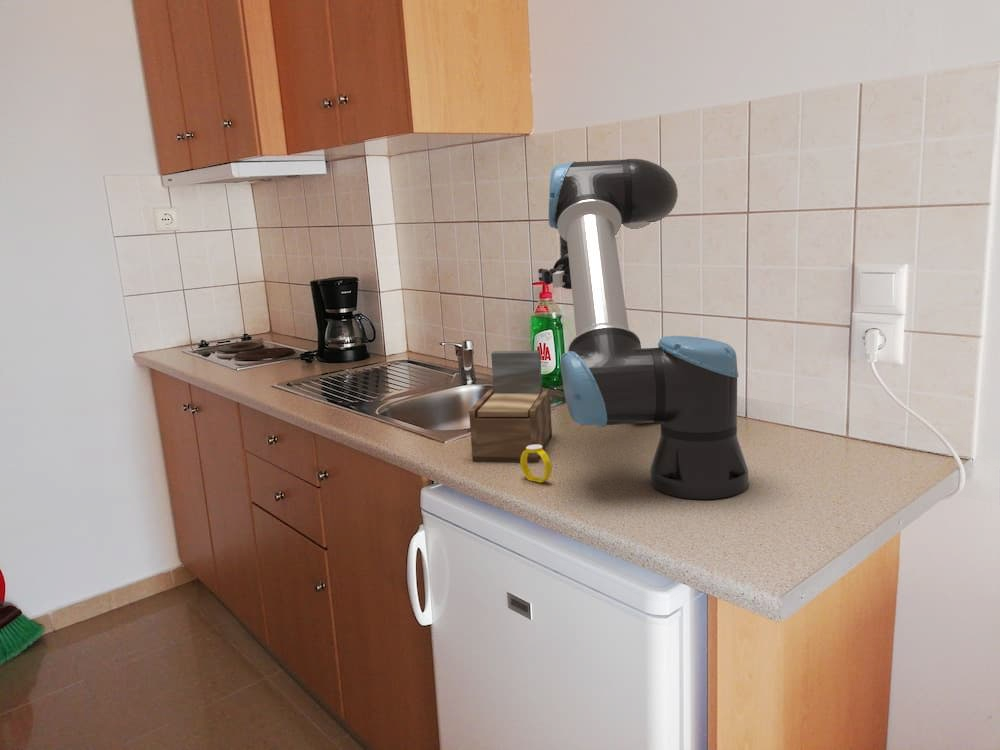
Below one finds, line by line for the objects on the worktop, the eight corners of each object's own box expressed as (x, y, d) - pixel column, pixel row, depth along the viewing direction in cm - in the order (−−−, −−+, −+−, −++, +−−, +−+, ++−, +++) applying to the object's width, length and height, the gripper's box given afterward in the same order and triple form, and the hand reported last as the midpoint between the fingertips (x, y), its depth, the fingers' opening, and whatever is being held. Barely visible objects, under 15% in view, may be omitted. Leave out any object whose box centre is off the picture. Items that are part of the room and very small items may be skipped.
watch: (555, 482, 130) (554, 447, 129) (544, 487, 128) (542, 452, 127) (529, 474, 134) (527, 441, 133) (518, 479, 132) (516, 445, 131)
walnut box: (537, 462, 140) (535, 410, 138) (472, 461, 143) (469, 410, 141) (551, 435, 155) (549, 388, 153) (492, 435, 158) (489, 389, 156)
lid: (528, 416, 139) (525, 367, 137) (477, 416, 141) (474, 367, 139) (542, 395, 154) (540, 350, 152) (496, 396, 156) (493, 351, 154)
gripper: (601, 286, 177) (590, 298, 155) (544, 288, 180) (525, 300, 158) (600, 252, 176) (588, 259, 153) (542, 255, 179) (523, 263, 156)
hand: (556, 280), depth 156 cm, fingers closed
